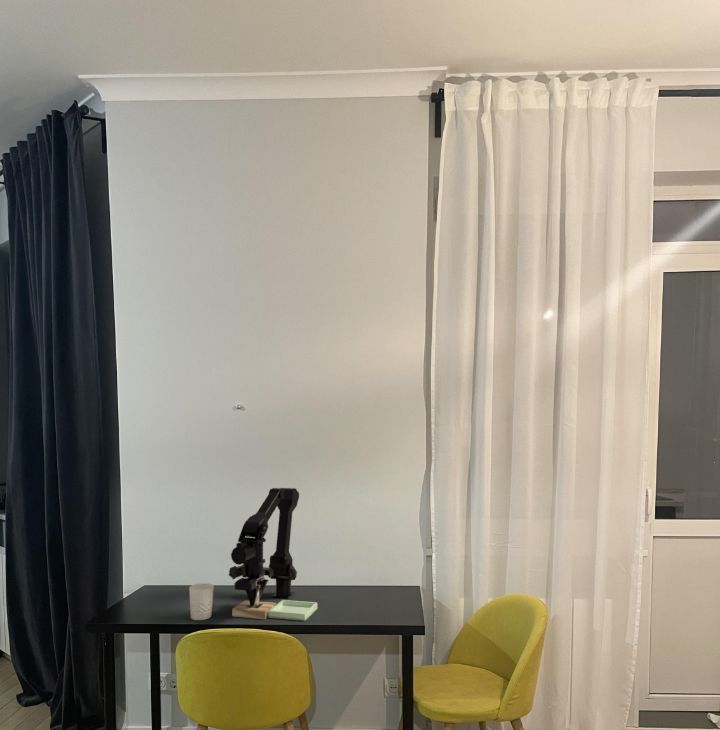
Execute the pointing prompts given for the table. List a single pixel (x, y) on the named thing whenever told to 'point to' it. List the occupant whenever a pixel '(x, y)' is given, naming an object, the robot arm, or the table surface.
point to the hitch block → (252, 610)
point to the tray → (293, 610)
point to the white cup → (201, 601)
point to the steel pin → (256, 600)
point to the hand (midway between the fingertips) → (254, 604)
